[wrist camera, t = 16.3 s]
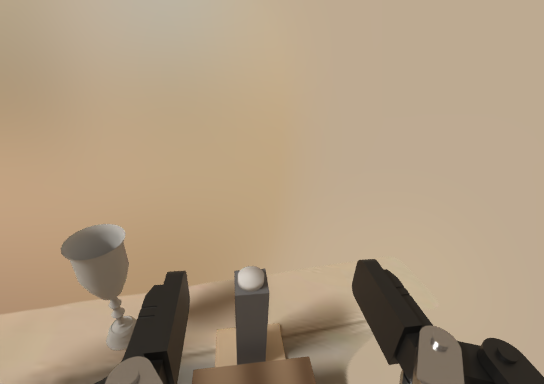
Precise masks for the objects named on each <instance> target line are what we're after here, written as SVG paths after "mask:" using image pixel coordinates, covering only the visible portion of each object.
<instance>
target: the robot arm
mask: <svg viewBox="0 0 544 384" xmlns="http://www.w3.org/2000/svg"><path fill="white" fill-rule="evenodd" d="M352 291H353V294H354V297H355V299H356V301H357V303H358V305H359V307H360V309H361V311H362V313H363V315H364V317H365V319H366V321H367V323H368V324H369V326H370V328H371V330H372V332H373V334H374V336H375V338H376V340H377V342H378V344H379V346H380V348H381V350H382V352H383V353H384V356H385V358H386V360H387V362H388V364H389V365H391V364H398V363H399V364H400V366H401V368H402V372H401V375H400V384H544V377H543V376H542V375H541V374H540V373H539V371H537V369H536V368H535V367H534V366H533V365H532V364H531V363H530V362H529V361H528V360H527V358H526V357H525V356H524V355H523V354H522V353H521V352H520V351H519V350H517V349H516V348H515V347H513V346H512V345H510V344H509V343H507V342H505V341H502V340H500V339H496V338H488V339H486V340H484V342H483V343H482V345H481V346H478V345H473V344H469V343H464V342H459V341H457V340H456V339H455V338H454V337H453V336H452V335H451V334H450V333H448V332H447V331H445V330H443V329H441V328H439V327H436V326H433V325H432V324H431V322H430V321H429V319H428V318H427V317H426V315H425V314H424V313H423V311H422V310H421V309H420V307H419V306H418V305H417V303H416V302H415V301H414V299H413V298H412V297H411V296H410V295H409V293H408V291H407V290H406V289H405V288H404V286H403V285H402V283H401V282H400V281H399V279H398V278H397V277H396V276H395V275H394V274H392V273H391V272H390V271H388V270H387V269H386V270H383V269H382V267H381V266H380V264H379V263H378V262H377V260H375V259H368V260H359V261H358V262H357V266H356V270H355V274H354V278H353V282H352ZM189 305H190V296H189V288H188V281H187V274H186V271H174V272H167V274H166V278H165V281H164V285H154V286H153V287H152V289H151V290H150V291H149V292H148V293H147V294H146V296H145V299H144V301H143V304H142V309H141V310H140V313H139V316H138V319H137V321H136V324H135V327H134V330H133V333H132V335H131V338H130V341H129V344H128V347H127V350H126V352H125V355H124V358H123V360H122V361H121V363H120V364H118V365H117V366H116V367H115V368H114V369H113V370H112V371H111V373H110V374H109V376H107V377H106V378H104V379H103V380H101V381H99V382H97V383H95V384H177V381H178V375H179V369H180V362H181V356H182V350H183V344H184V338H185V332H186V326H187V319H188V313H189Z"/></svg>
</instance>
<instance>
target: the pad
mask: <svg viewBox="0 0 544 384" xmlns="http://www.w3.org/2000/svg"><path fill="white" fill-rule="evenodd" d="M283 359H286V358H285V353H284V347H283V342H282V336H281V331H280V325H279V324H268V325H267V344H266V361H275V360H283ZM231 365H237V349H236V328H227V329H217V337H216V357H215V367H223V366H231Z"/></svg>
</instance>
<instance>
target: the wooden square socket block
mask: <svg viewBox="0 0 544 384" xmlns="http://www.w3.org/2000/svg"><path fill="white" fill-rule="evenodd" d="M192 384H316V382H315V378H314V374H313V370H312V366H311V362H310V358H309V357H300V358H292V359H283V360H275V361H266V362H257V363H249V364H240V365H231V366H223V367H214V368H206V369H197V370H194V371H193V379H192Z"/></svg>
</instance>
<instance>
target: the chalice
mask: <svg viewBox="0 0 544 384" xmlns="http://www.w3.org/2000/svg"><path fill="white" fill-rule="evenodd" d="M124 239H125V231H124V229H123V228H121V227H120V226H117V225H113V224H101V225H95V226H91V227H88V228H85V229H82V230H80V231H78V232H76V233H75V234H73V235H71V236H70V237H69V238H68V239H67V240H66V241H65V242H64V243H63V245H62V247H61V254H62V255H63V256H65V258H67V259H69V260H70V262H71V264H72V266H73V269H74V272H75V274H76V277H77V279H78V282H79V283H80V284H81V285H82V286H83V287H84V288H85V289H87V290H88V291H89V292H90V293H92V294H94V295H96V296H97V297H99V298H101V299H103V300H110V304H109V307H110V308H111V309H113V312H112V314H111V316H112V317H113V318H116V319H117V320H115V321H114V322H113V324H112V325H111V326H110V328H109V332H108V336H107V340H106V342H107V346H108V347H109V348H110V349H113V350H123V349H126V348H127V347H128V344H129V341H130V338H131V335H132V333H133V330H134V327H135V324H136V321H137V320H136V319H135V318H133V317H131V316H123V314H124V312H125V309H124V308H121V307H120V305H121V300H120V299H118V298H117V296H118V295H119V294H120V293H121V292H122V289H123V286H124V283H125V281H126V277H127V272H128V265H129V262H128V258H127V255H126V251H125V247H124V243H123V241H124Z"/></svg>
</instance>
